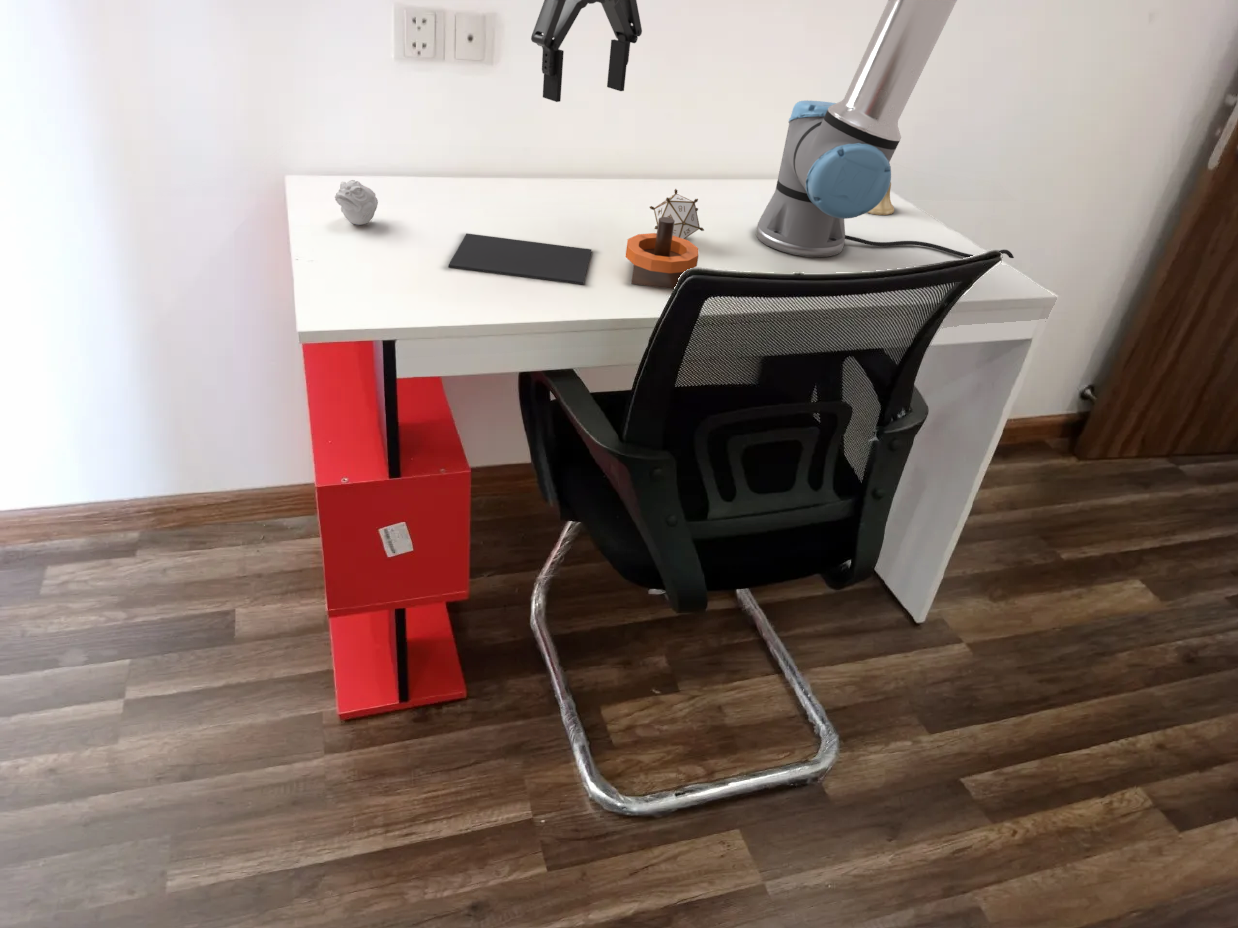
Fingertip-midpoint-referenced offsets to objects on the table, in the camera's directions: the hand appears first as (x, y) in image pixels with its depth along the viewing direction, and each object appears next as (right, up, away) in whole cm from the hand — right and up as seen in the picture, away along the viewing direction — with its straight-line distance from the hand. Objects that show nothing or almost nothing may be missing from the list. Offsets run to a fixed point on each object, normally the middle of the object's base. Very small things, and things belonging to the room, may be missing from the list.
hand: (584, 94), depth 130 cm
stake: (+11, -24, +9) cm, 28 cm away
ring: (+11, -22, +7) cm, 26 cm away
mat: (-10, -22, +9) cm, 25 cm away
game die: (+14, -16, +22) cm, 30 cm away
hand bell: (+55, -3, +48) cm, 73 cm away
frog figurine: (-36, -15, +13) cm, 42 cm away
